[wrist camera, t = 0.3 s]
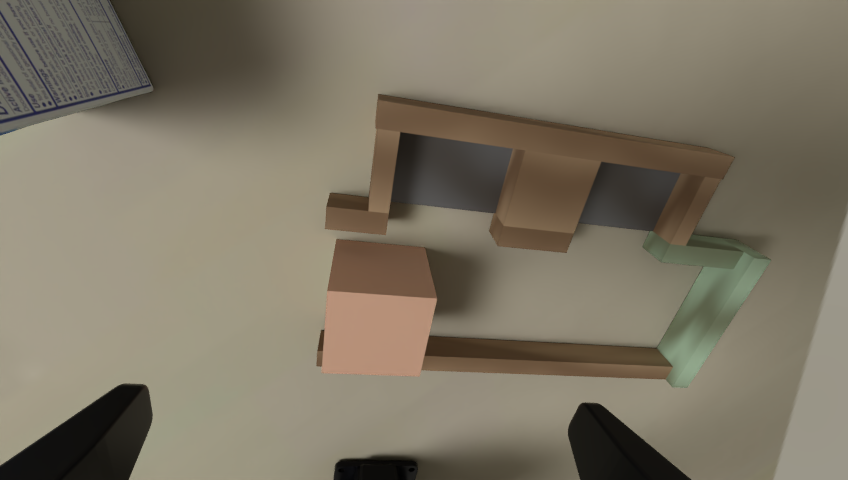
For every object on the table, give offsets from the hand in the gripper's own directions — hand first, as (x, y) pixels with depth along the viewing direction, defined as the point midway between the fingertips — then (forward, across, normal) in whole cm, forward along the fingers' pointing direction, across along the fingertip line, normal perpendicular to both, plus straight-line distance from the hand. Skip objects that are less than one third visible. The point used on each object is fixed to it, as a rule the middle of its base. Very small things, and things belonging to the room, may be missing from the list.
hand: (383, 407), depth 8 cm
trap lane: (+14, -10, +3) cm, 18 cm away
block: (+14, -1, +6) cm, 15 cm away
